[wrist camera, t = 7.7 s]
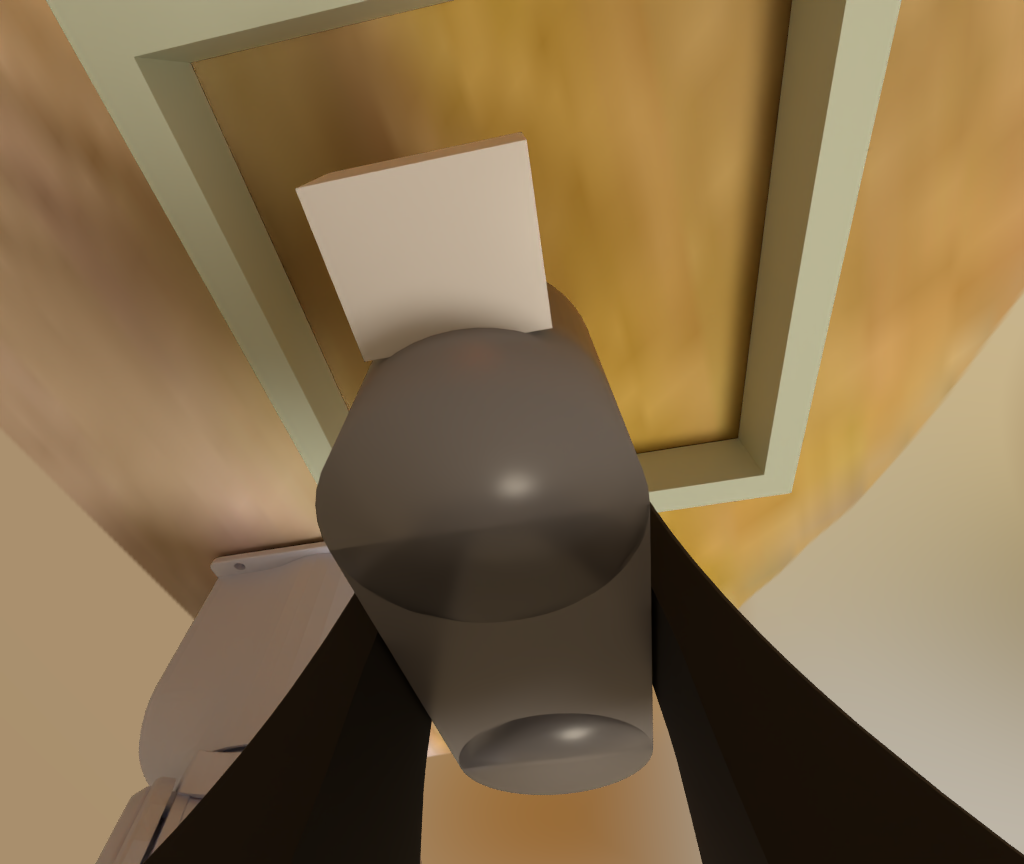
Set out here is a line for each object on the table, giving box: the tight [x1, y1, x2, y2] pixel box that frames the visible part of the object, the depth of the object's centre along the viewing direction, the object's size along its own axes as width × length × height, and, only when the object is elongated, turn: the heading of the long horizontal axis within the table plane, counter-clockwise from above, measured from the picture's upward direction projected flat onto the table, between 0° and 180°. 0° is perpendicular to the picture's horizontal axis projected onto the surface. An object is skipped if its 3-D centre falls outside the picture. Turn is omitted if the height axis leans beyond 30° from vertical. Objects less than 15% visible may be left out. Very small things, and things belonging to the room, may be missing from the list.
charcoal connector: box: [295, 132, 653, 795], centre depth 9 cm, size 4×13×4 cm, turn 10°
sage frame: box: [46, 0, 901, 512], centre depth 15 cm, size 18×18×2 cm
